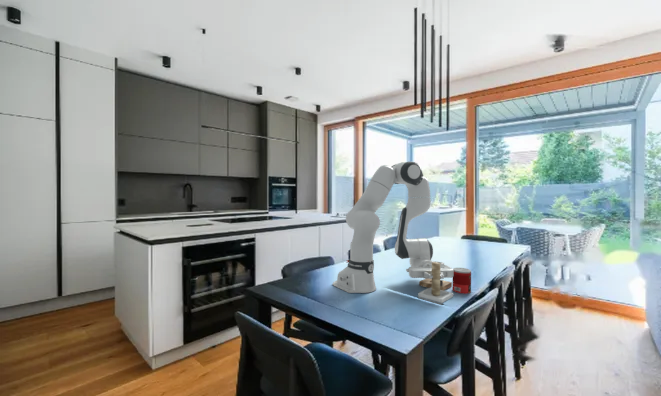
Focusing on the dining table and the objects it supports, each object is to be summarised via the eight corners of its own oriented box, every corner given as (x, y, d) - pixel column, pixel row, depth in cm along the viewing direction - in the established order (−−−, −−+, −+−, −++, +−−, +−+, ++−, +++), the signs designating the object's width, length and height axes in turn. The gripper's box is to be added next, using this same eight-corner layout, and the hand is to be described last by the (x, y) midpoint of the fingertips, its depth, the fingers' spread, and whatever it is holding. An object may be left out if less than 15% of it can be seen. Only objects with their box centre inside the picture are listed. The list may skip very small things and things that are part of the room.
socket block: (419, 287, 148) (419, 277, 148) (428, 282, 155) (429, 273, 155) (442, 293, 140) (442, 282, 140) (451, 288, 147) (451, 278, 147)
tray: (418, 298, 133) (418, 292, 133) (430, 292, 141) (430, 287, 141) (442, 305, 125) (442, 299, 125) (453, 298, 133) (453, 293, 133)
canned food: (472, 296, 136) (473, 272, 136) (454, 295, 138) (454, 271, 137) (468, 290, 143) (468, 268, 143) (451, 289, 145) (451, 267, 145)
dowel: (430, 294, 133) (430, 263, 132) (433, 292, 135) (434, 261, 135) (437, 296, 130) (438, 264, 130) (441, 294, 133) (441, 263, 132)
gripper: (404, 262, 145) (413, 270, 131) (446, 262, 146) (459, 269, 132) (404, 275, 145) (413, 284, 132) (446, 275, 146) (459, 284, 132)
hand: (436, 277), depth 132 cm, fingers closed on dowel, 3 cm apart
